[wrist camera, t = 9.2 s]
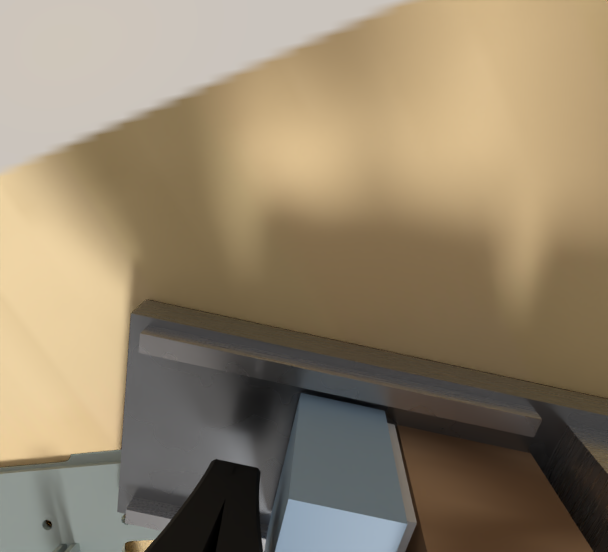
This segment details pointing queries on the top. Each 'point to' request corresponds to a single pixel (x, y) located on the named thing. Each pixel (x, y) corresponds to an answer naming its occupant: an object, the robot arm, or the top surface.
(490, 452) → the block
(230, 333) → the vise
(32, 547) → the metal bracket
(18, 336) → the top surface
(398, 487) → the block
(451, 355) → the top surface
